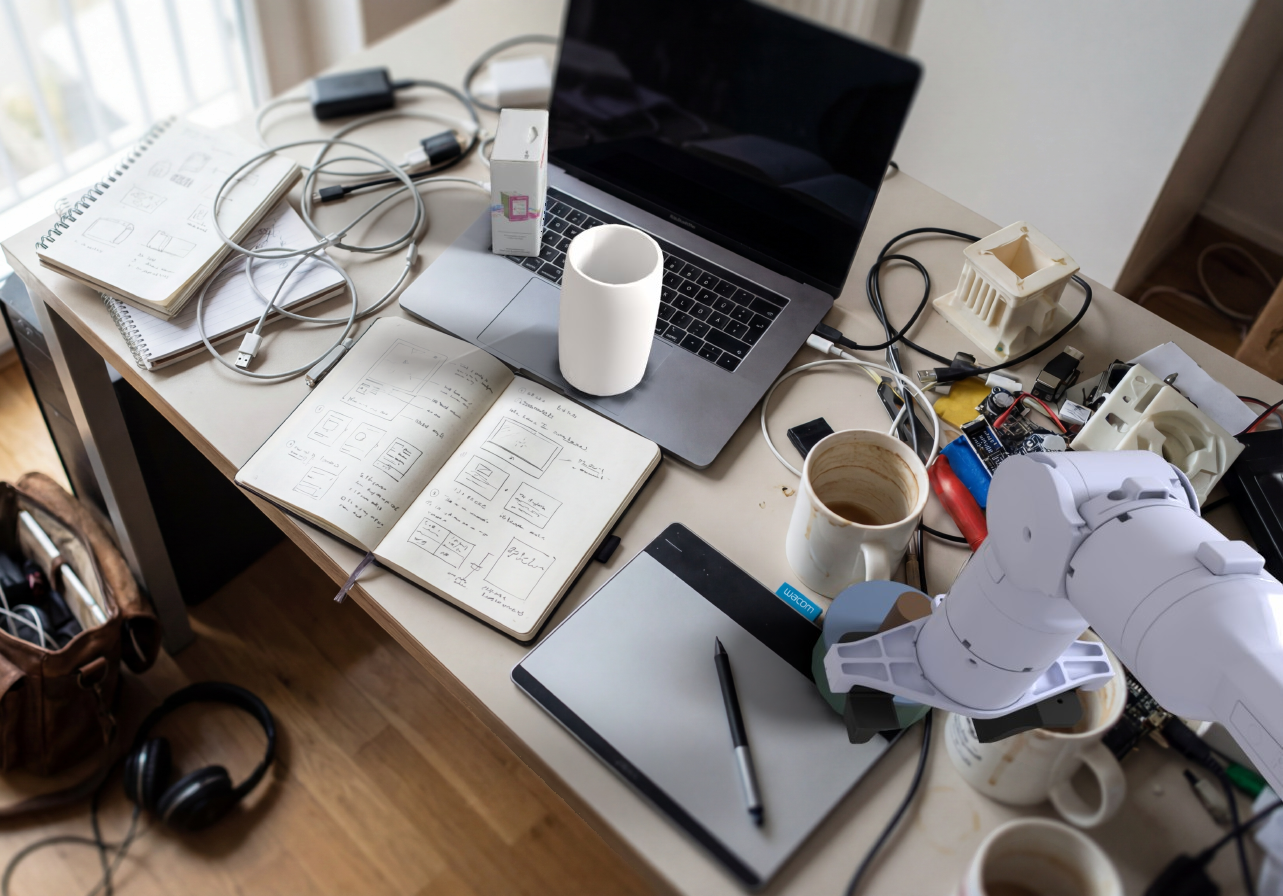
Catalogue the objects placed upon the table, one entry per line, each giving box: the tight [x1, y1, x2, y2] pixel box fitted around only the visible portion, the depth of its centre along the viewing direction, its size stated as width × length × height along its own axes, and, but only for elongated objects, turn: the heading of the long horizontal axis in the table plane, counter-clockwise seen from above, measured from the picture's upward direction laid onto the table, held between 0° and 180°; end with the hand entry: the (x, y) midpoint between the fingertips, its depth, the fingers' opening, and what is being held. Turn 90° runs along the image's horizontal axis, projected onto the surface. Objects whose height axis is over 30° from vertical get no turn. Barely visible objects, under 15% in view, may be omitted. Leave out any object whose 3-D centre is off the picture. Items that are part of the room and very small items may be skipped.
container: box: [811, 631, 933, 732], centre depth 72 cm, size 9×9×5 cm
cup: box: [558, 223, 664, 397], centre depth 88 cm, size 8×8×14 cm
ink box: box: [489, 108, 550, 258], centre depth 101 cm, size 9×5×12 cm, turn 172°
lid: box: [822, 579, 934, 706], centre depth 68 cm, size 9×9×6 cm
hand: (915, 727), depth 61 cm, fingers open, 7 cm apart
